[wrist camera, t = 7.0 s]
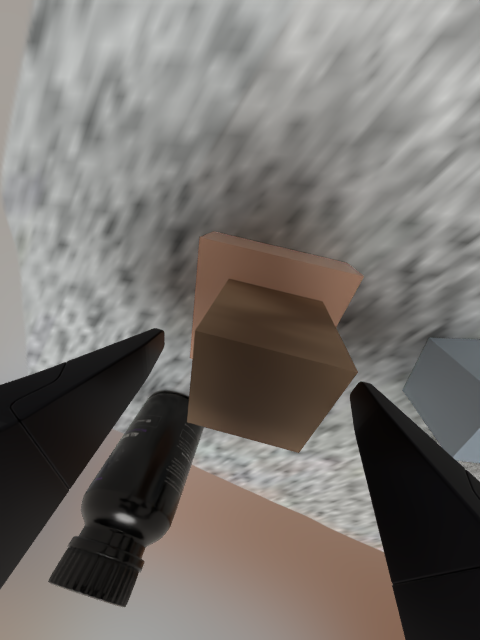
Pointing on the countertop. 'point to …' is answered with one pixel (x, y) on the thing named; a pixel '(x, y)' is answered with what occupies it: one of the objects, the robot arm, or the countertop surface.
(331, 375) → the walnut cube
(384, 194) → the countertop surface
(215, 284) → the base block
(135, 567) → the supplement bottle
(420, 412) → the slate-blue cube
